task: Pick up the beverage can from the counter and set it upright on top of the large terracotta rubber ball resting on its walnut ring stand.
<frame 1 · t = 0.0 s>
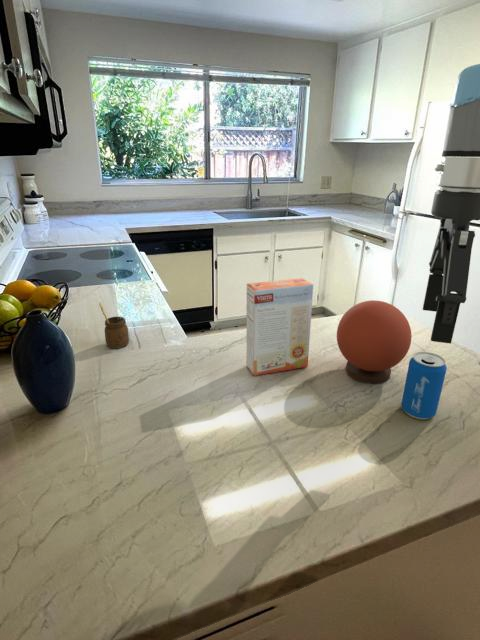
hand: (435, 324, 66), 21 cm above the countertop, tool pointing down, fingers open, 13 cm apart
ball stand: (367, 372, 94), on the countertop
cracker box: (276, 367, 97), on the countertop
brown jar with stick: (117, 344, 107), on the countertop
beverage can: (417, 412, 80), on the countertop
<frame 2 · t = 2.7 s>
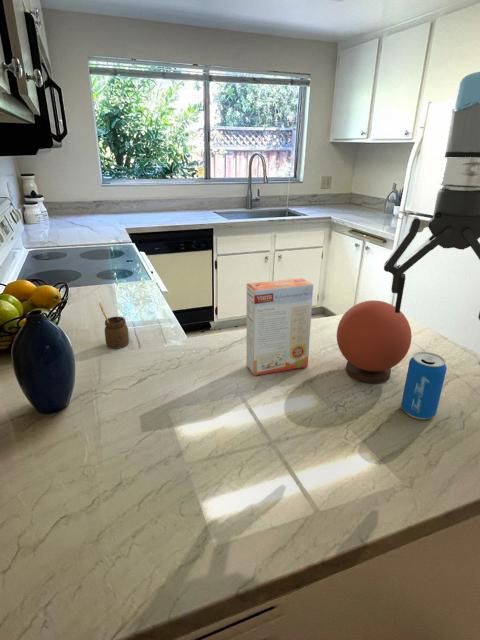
hand: (438, 315, 70), 21 cm above the countertop, tool pointing down, fingers open, 13 cm apart
nothing on the countertop moved.
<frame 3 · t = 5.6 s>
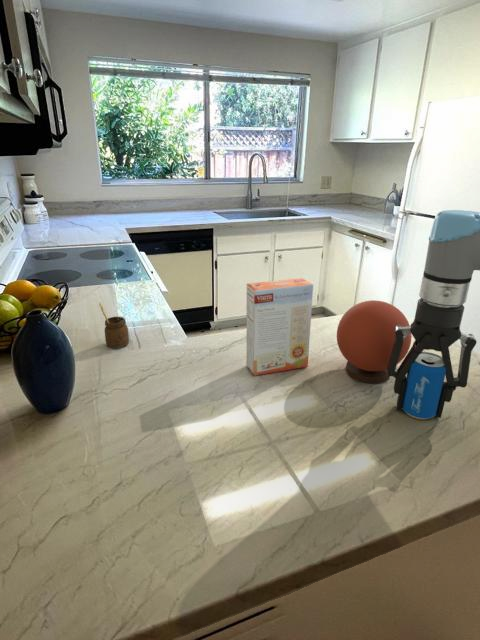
hand: (418, 409, 80), 0 cm above the countertop, tool pointing down, fingers closed on beverage can, 6 cm apart
beverage can: (417, 412, 80), on the countertop, touching gripper
everything else where it was.
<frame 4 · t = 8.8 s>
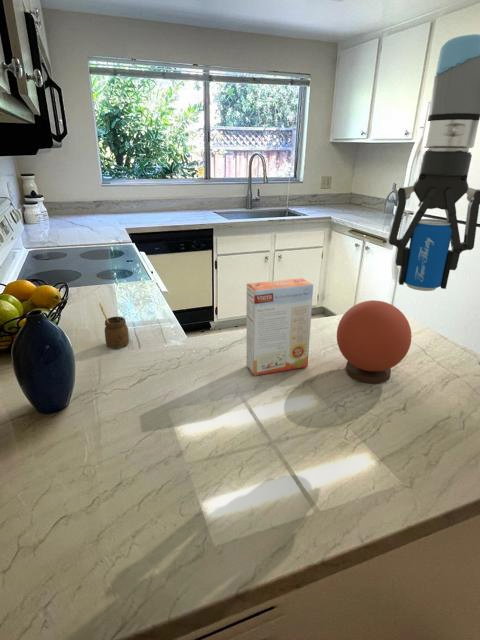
hand: (421, 284, 75), 25 cm above the countertop, tool pointing down, fingers closed on beverage can, 6 cm apart
beverage can: (420, 287, 75), point 24 cm above the countertop, touching gripper
everything else where it was.
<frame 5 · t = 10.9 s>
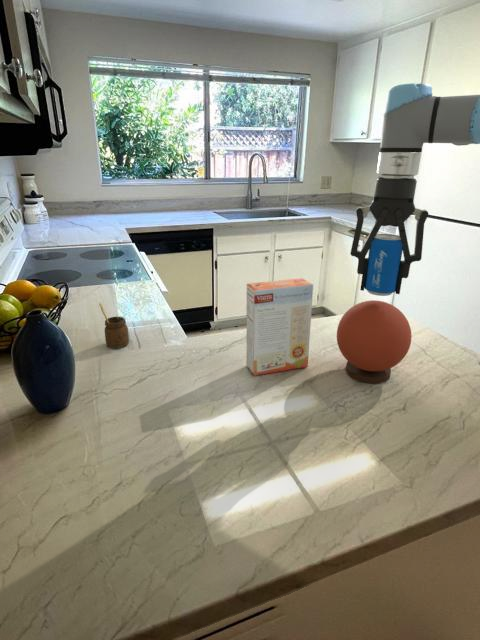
hand: (379, 290, 87), 20 cm above the countertop, tool pointing down, fingers closed on beverage can, 6 cm apart
beverage can: (379, 293, 87), point 20 cm above the countertop, touching gripper
everything else where it was.
when the fingers open (18 cm above the countertop, at t = 12.0 s): beverage can stays where it is, resting on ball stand.
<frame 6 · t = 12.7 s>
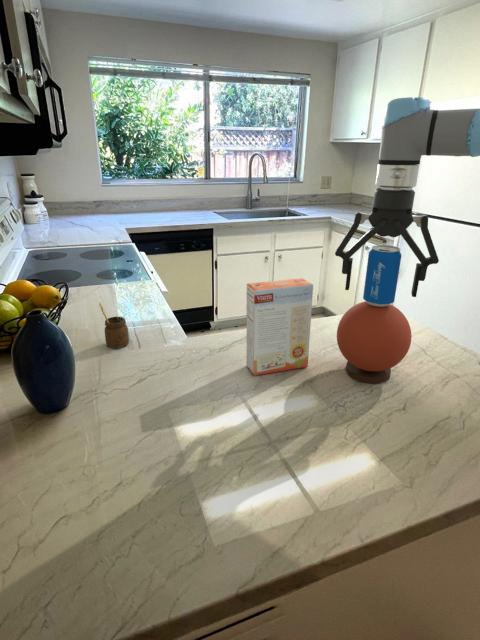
hand: (379, 291, 87), 20 cm above the countertop, tool pointing down, fingers open, 13 cm apart
beverage can: (377, 303, 88), point 17 cm above the countertop, touching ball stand
everything else where it was.
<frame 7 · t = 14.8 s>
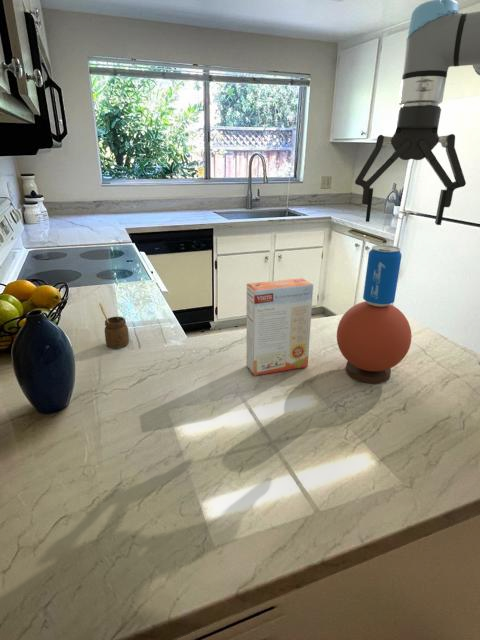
hand: (401, 222, 83), 34 cm above the countertop, tool pointing down, fingers open, 13 cm apart
nothing on the countertop moved.
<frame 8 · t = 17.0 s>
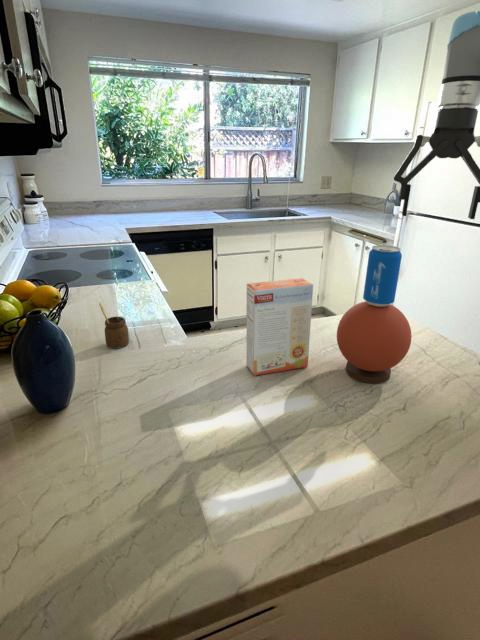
hand: (436, 216, 89), 35 cm above the countertop, tool pointing down, fingers open, 13 cm apart
nothing on the countertop moved.
at the end: beverage can 0.0 cm off-centre on the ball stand, point 17.3 cm above the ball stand's base; beverage can tilted 0°; the gripper is holding nothing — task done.
